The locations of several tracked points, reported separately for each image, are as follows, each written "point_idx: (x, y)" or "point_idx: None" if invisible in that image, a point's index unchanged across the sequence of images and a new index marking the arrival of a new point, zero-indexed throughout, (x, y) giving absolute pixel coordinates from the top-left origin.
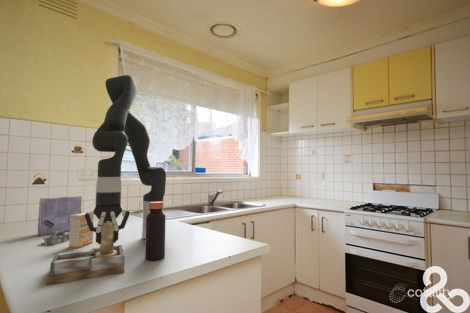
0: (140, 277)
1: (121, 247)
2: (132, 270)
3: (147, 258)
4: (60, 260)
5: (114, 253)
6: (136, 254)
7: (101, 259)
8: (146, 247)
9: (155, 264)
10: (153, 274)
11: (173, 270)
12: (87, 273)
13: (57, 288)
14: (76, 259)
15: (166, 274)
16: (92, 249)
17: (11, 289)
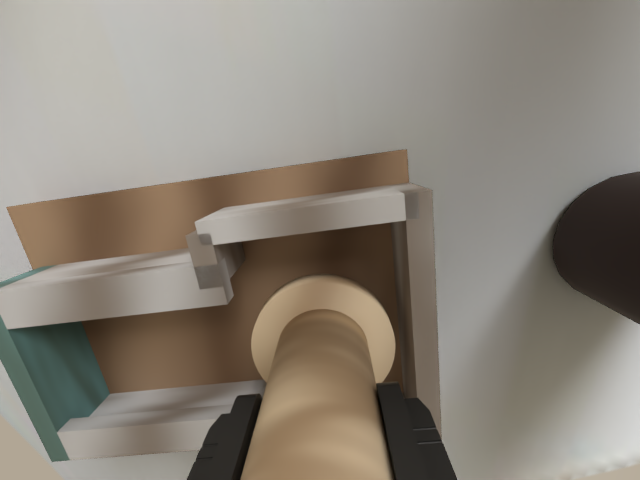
0: (479, 466)
1: (428, 277)
2: (454, 388)
3: (564, 278)
4: (82, 436)
5: (377, 381)
6: (510, 112)
7: None
8: (626, 295)
9: (581, 346)
10: (537, 455)
11: (636, 442)
12: None
13: (184, 465)
14: (169, 447)
15: (589, 470)
16: (201, 265)
17: (22, 428)
